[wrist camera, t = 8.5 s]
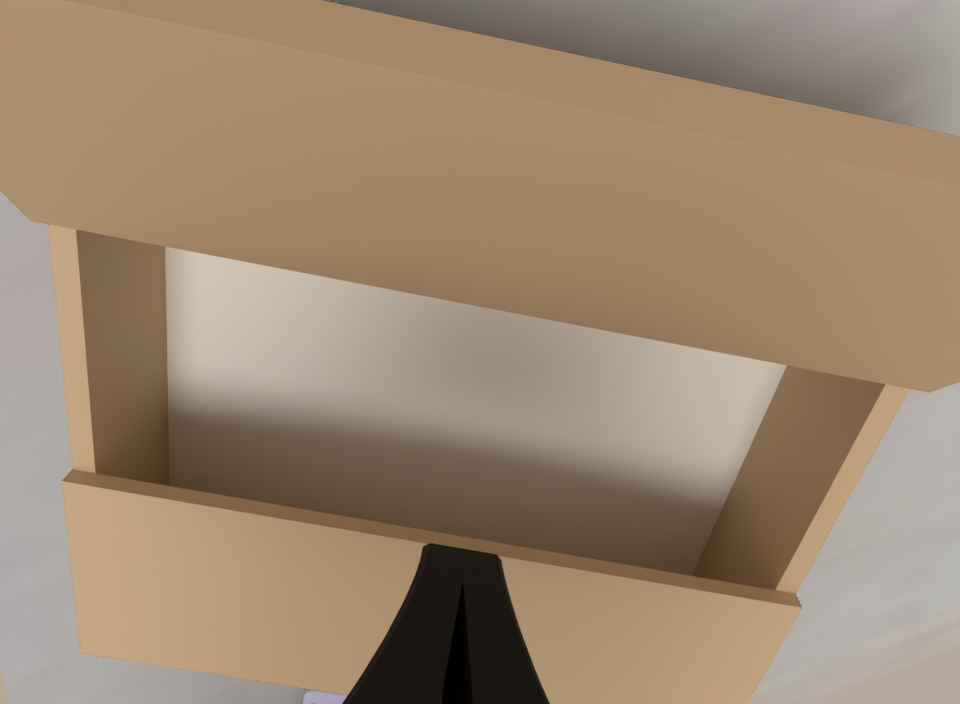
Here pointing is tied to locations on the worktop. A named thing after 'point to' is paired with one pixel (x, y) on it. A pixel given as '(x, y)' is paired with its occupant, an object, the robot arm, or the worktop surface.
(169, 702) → the worktop surface
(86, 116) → the flap
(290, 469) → the carton
